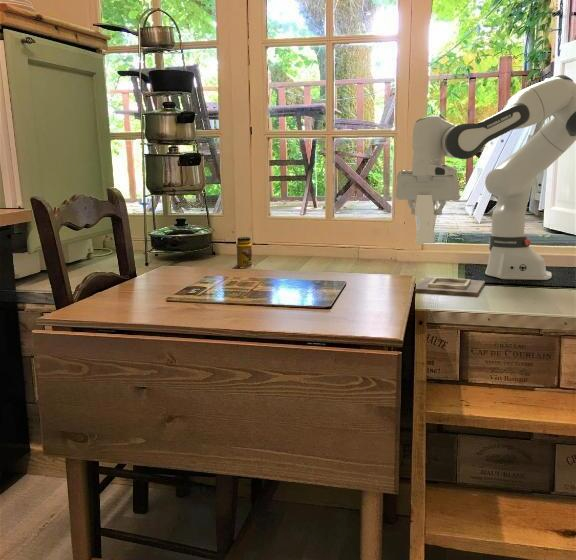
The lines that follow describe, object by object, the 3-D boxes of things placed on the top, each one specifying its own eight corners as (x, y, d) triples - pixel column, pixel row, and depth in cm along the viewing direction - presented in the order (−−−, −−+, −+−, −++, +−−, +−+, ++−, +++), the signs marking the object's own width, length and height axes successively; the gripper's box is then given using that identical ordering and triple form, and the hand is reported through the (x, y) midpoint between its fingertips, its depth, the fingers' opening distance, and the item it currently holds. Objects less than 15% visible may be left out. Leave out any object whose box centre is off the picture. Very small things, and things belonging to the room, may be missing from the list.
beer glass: (423, 243, 191) (424, 194, 189) (409, 242, 197) (410, 194, 195) (441, 243, 194) (442, 194, 192) (426, 241, 201) (428, 194, 198)
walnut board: (484, 284, 209) (485, 277, 209) (477, 296, 191) (477, 289, 191) (425, 280, 217) (425, 274, 217) (412, 292, 199) (412, 285, 199)
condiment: (252, 268, 248) (251, 238, 246) (230, 268, 249) (229, 238, 247) (254, 265, 256) (253, 236, 253) (233, 265, 256) (232, 236, 254)
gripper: (392, 170, 196) (392, 214, 199) (453, 169, 184) (452, 216, 186) (401, 170, 201) (401, 212, 204) (462, 168, 188) (461, 214, 191)
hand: (426, 214), depth 195 cm, fingers closed on beer glass, 7 cm apart
